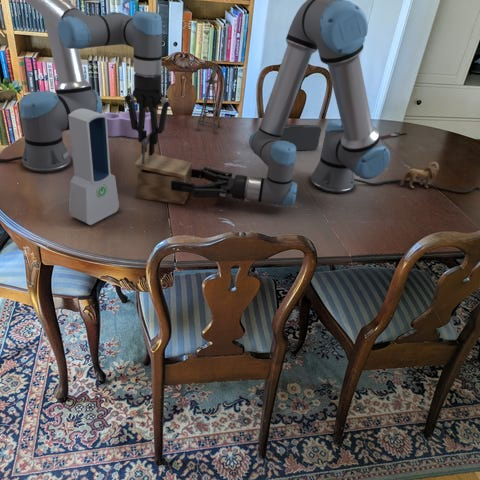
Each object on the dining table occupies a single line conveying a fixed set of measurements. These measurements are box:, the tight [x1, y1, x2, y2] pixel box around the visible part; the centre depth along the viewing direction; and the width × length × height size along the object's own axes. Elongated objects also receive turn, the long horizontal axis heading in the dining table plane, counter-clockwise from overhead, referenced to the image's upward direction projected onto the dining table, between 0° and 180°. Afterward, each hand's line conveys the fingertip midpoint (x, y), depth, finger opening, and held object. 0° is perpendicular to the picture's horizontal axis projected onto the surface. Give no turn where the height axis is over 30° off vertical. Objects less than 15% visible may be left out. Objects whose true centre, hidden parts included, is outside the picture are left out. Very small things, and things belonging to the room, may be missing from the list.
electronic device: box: [68, 109, 120, 226], centre depth 127 cm, size 12×8×30 cm, turn 148°
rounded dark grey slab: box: [280, 124, 322, 151], centre depth 189 cm, size 23×3×10 cm, turn 108°
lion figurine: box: [399, 161, 440, 189], centre depth 170 cm, size 15×5×9 cm, turn 110°
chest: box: [137, 166, 193, 205], centre depth 147 cm, size 15×10×9 cm
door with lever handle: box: [133, 132, 193, 178], centre depth 142 cm, size 16×10×9 cm, turn 83°
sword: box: [380, 132, 406, 140], centre depth 214 cm, size 31×3×1 cm, turn 126°
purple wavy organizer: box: [102, 110, 152, 139], centre depth 189 cm, size 20×12×7 cm, turn 109°
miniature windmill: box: [196, 58, 221, 133], centre depth 195 cm, size 9×8×30 cm
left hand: (148, 152), depth 142 cm, fingers closed on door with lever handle, 2 cm apart
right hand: (175, 178), depth 146 cm, fingers closed on chest, 10 cm apart
